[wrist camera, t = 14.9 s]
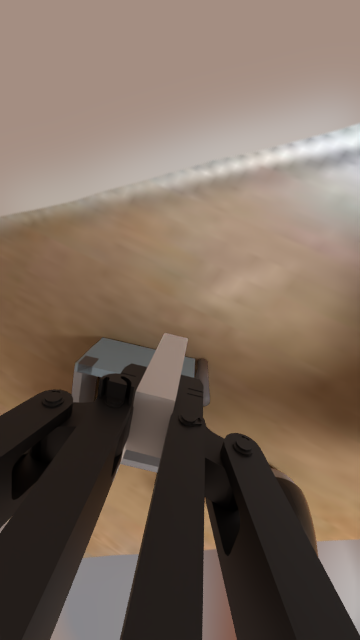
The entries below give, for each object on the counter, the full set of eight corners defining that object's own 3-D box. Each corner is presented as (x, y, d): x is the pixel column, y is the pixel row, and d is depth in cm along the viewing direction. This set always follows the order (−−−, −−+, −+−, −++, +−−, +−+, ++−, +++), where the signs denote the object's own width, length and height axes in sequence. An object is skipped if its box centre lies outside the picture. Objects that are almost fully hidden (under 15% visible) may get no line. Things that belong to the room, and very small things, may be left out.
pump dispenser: (217, 478, 42) (227, 604, 27) (269, 445, 39) (309, 564, 25) (258, 515, 44) (287, 651, 29) (310, 485, 41) (370, 619, 26)
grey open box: (208, 359, 36) (211, 396, 27) (184, 445, 40) (180, 499, 32) (96, 333, 36) (63, 361, 27) (84, 421, 41) (53, 469, 32)
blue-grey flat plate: (195, 358, 36) (193, 390, 28) (193, 365, 36) (191, 398, 28) (102, 337, 36) (76, 362, 28) (101, 344, 36) (75, 371, 29)
